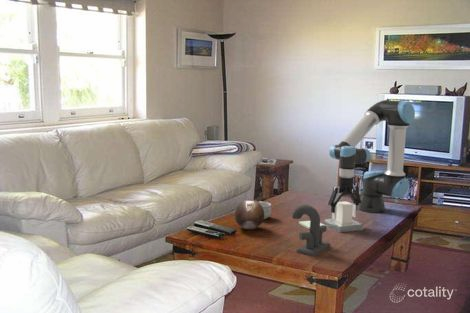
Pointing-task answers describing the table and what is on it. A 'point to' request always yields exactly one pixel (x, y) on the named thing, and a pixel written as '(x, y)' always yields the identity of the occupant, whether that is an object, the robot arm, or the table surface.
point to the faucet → (311, 231)
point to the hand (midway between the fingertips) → (343, 217)
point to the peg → (344, 212)
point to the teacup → (266, 209)
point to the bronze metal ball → (249, 214)
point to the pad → (307, 224)
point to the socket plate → (343, 225)
